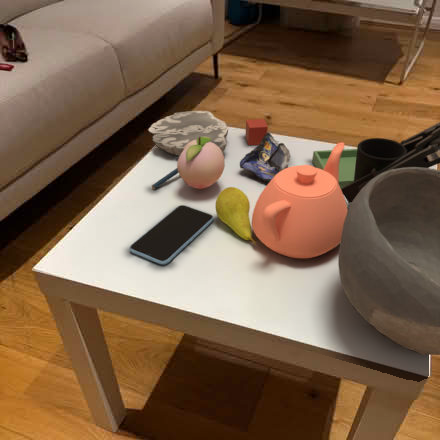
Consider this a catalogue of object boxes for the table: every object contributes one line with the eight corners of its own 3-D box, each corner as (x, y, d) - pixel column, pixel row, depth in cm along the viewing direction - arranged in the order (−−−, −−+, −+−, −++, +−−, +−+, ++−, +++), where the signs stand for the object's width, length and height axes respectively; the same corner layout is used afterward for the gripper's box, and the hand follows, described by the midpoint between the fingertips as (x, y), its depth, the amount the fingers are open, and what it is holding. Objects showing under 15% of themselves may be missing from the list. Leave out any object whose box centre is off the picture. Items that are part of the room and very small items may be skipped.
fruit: (211, 204, 82) (233, 263, 77) (209, 186, 76) (232, 248, 72) (242, 194, 82) (266, 252, 78) (242, 175, 76) (267, 237, 72)
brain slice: (144, 128, 106) (142, 115, 104) (216, 121, 109) (216, 108, 107) (158, 170, 92) (156, 156, 90) (239, 160, 96) (240, 146, 94)
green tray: (368, 158, 97) (371, 147, 95) (391, 189, 88) (394, 178, 86) (311, 161, 96) (313, 150, 94) (329, 192, 87) (331, 181, 85)
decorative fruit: (218, 203, 84) (218, 152, 77) (174, 198, 85) (171, 147, 78) (228, 177, 90) (229, 128, 83) (187, 173, 91) (185, 123, 84)
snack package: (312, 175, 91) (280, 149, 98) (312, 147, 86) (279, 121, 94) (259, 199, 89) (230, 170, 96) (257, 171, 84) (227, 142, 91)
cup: (387, 227, 79) (406, 162, 70) (342, 220, 80) (355, 155, 72) (389, 204, 84) (407, 141, 76) (347, 197, 86) (360, 135, 78)
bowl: (442, 425, 53) (536, 356, 42) (277, 297, 61) (319, 209, 49) (502, 314, 68) (584, 241, 56) (363, 221, 75) (411, 140, 64)
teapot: (295, 191, 87) (304, 127, 78) (370, 220, 80) (388, 154, 72) (223, 248, 74) (224, 180, 66) (304, 288, 68) (317, 218, 59)
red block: (262, 136, 104) (264, 118, 101) (266, 144, 101) (267, 126, 98) (245, 137, 103) (246, 119, 101) (248, 145, 100) (249, 127, 98)
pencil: (150, 184, 87) (208, 145, 92) (152, 189, 88) (209, 149, 93) (153, 185, 86) (210, 145, 92) (155, 190, 87) (212, 150, 92)
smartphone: (215, 215, 80) (164, 263, 70) (215, 219, 80) (164, 267, 71) (180, 202, 82) (126, 247, 73) (180, 206, 83) (127, 251, 74)
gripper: (493, 167, 58) (344, 231, 75) (515, 112, 70) (383, 177, 88) (465, 115, 56) (319, 193, 73) (492, 68, 69) (362, 144, 86)
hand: (354, 184), depth 80 cm, fingers closed on cup, 8 cm apart
